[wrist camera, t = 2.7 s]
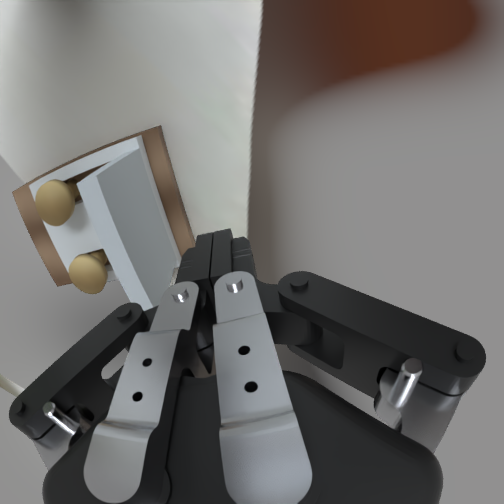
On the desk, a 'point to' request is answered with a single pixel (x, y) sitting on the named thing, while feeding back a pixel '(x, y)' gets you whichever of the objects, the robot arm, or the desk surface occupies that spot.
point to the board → (67, 193)
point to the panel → (119, 221)
